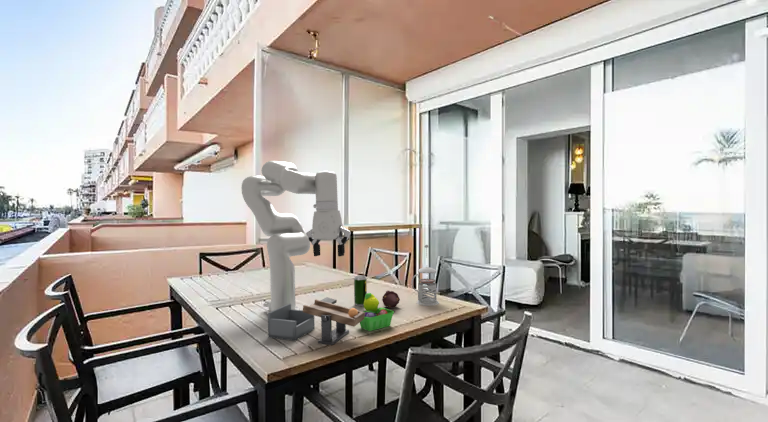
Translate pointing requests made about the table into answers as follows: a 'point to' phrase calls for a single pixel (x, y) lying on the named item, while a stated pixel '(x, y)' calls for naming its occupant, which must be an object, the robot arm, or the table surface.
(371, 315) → the fruit basket
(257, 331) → the table surface
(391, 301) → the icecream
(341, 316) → the lever
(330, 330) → the lever stand
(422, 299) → the french press
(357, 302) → the beer can
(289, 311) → the bin
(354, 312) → the ball
